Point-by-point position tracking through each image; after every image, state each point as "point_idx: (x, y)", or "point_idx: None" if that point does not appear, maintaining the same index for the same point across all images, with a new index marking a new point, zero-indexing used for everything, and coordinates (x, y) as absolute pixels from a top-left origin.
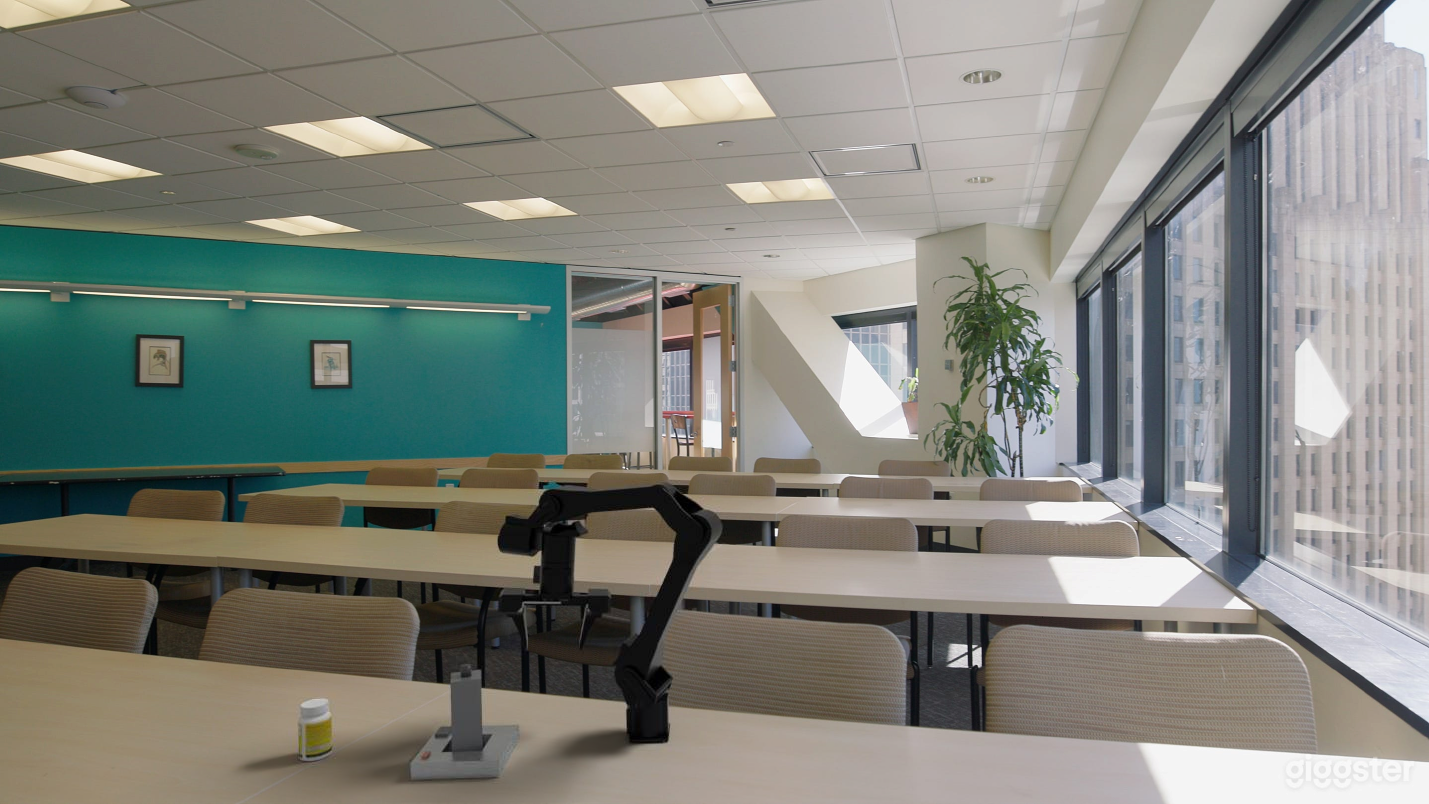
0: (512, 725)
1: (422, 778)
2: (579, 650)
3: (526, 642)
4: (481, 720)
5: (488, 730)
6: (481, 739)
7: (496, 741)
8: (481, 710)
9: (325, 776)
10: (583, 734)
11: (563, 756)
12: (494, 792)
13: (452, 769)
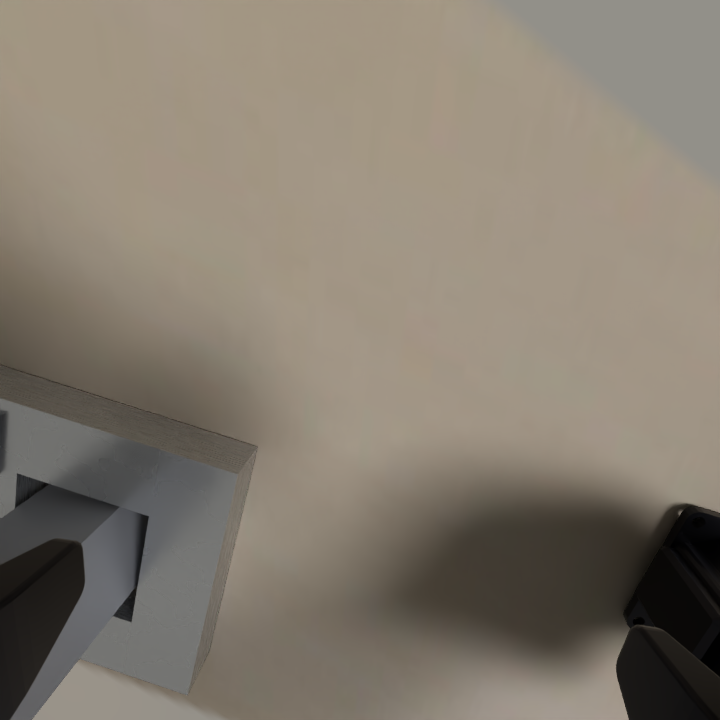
0: (214, 471)
1: None
2: (617, 667)
3: (11, 711)
4: (65, 673)
5: (131, 480)
6: (111, 613)
7: (168, 577)
8: (35, 713)
9: None
10: (485, 487)
11: (391, 611)
12: (203, 711)
13: None
